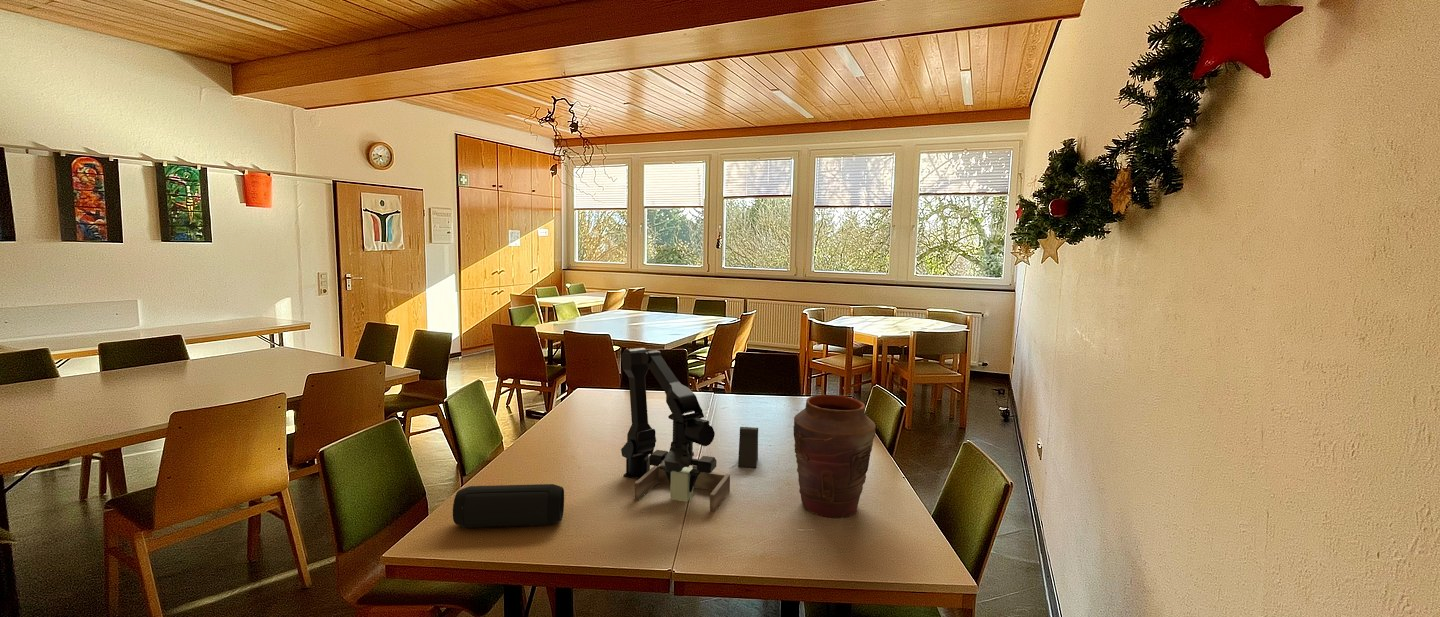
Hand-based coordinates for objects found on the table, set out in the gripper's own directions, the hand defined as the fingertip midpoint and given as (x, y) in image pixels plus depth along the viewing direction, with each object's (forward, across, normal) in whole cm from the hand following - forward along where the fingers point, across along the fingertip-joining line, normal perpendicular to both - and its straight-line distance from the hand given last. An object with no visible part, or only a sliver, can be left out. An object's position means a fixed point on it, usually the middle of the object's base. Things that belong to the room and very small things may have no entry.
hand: (681, 490), depth 169 cm
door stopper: (+2, +11, +33) cm, 35 cm away
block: (+2, 0, 0) cm, 2 cm away
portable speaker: (+2, -35, -30) cm, 46 cm away
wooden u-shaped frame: (+2, 0, 0) cm, 2 cm away
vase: (+2, +41, +8) cm, 42 cm away
